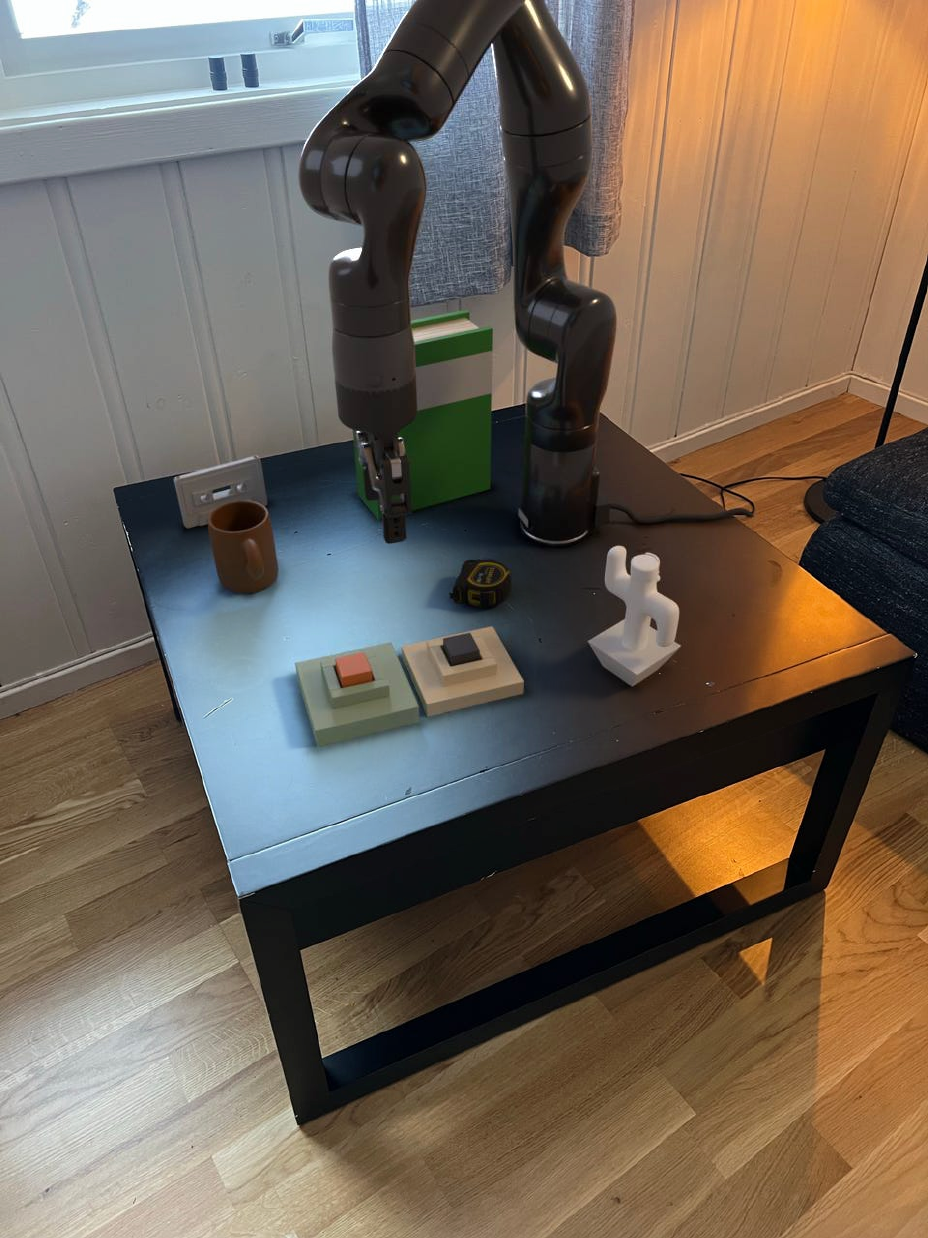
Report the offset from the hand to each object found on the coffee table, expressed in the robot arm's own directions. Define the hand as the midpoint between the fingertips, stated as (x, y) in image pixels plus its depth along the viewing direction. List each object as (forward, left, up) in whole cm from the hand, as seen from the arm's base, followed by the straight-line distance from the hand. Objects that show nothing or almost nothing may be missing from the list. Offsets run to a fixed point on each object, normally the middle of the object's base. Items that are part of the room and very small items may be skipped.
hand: (384, 518), depth 96 cm
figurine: (-25, +11, -18) cm, 33 cm away
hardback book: (-14, -33, -18) cm, 40 cm away
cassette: (+14, -36, -18) cm, 43 cm away
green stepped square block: (+6, +6, -18) cm, 20 cm away
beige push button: (-6, +6, -18) cm, 20 cm away
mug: (+13, -18, -18) cm, 29 cm away
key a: (-6, +6, -15) cm, 17 cm away
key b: (+6, +6, -15) cm, 17 cm away
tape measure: (-13, -7, -18) cm, 23 cm away
